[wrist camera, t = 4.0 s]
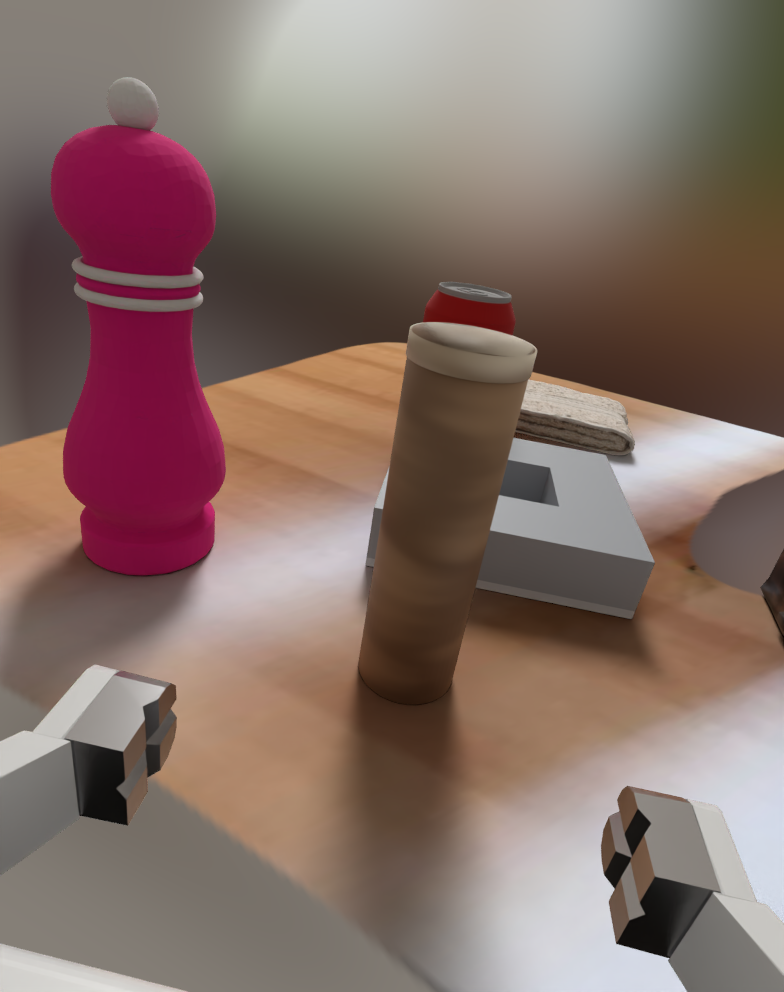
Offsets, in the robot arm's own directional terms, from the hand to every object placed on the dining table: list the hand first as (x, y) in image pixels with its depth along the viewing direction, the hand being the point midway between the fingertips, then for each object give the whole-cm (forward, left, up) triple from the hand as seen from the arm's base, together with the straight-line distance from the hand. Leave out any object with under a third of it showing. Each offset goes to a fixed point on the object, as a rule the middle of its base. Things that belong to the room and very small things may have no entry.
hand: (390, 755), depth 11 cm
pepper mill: (+14, -18, -9) cm, 24 cm away
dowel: (0, -12, -9) cm, 15 cm away
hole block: (-4, -26, -9) cm, 28 cm away
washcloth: (-8, -50, -10) cm, 52 cm away
